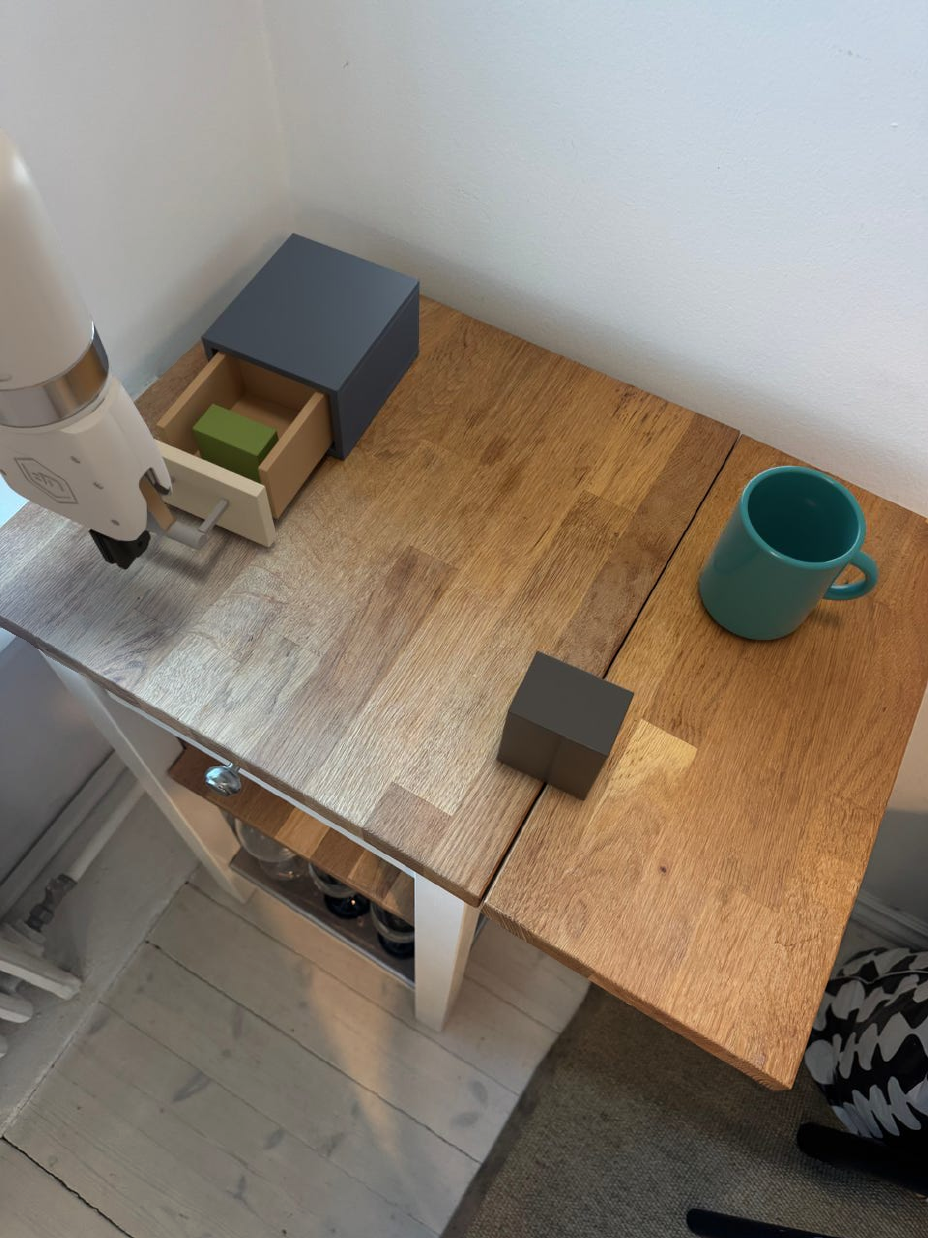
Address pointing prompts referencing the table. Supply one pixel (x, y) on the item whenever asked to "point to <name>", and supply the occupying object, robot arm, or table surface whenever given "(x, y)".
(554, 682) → the dark gray block
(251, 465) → the olive green block
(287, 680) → the table surface
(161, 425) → the drawer
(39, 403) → the robot arm
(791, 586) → the cup
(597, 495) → the table surface
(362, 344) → the cabinet
